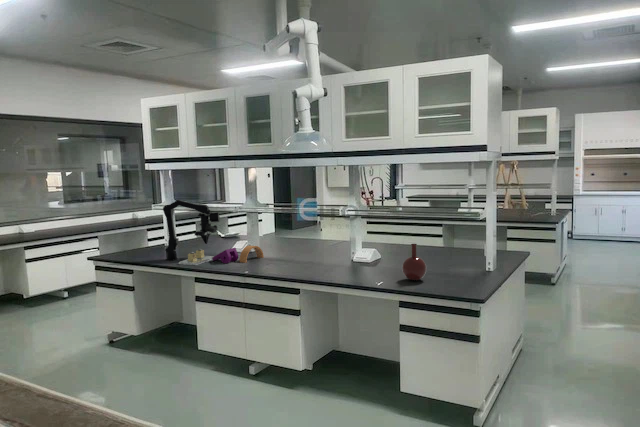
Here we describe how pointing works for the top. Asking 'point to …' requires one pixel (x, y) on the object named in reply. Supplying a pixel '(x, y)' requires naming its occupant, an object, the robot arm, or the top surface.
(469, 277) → the top surface
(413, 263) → the round-bottom flask
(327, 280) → the top surface
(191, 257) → the fixed leg
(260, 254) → the arch
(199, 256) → the sliding leg
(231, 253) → the mounting bracket
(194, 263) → the pitch plate
